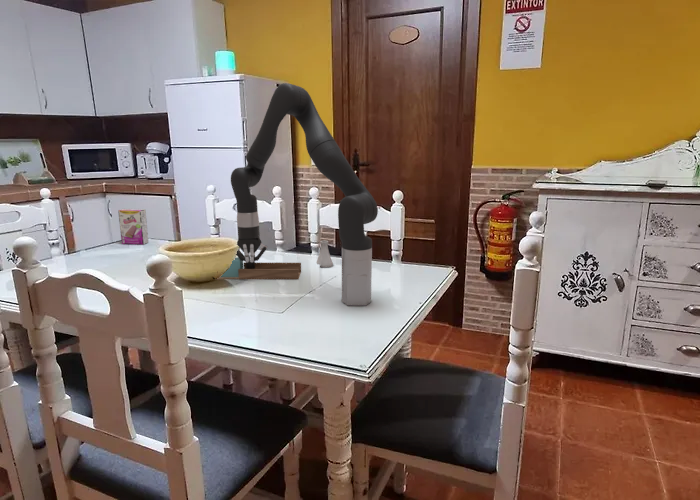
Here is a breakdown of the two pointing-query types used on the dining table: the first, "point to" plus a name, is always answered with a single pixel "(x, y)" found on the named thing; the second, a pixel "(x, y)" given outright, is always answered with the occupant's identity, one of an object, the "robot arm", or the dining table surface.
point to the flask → (324, 255)
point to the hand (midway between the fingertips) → (251, 271)
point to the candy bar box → (133, 226)
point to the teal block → (234, 268)
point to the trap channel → (269, 271)
